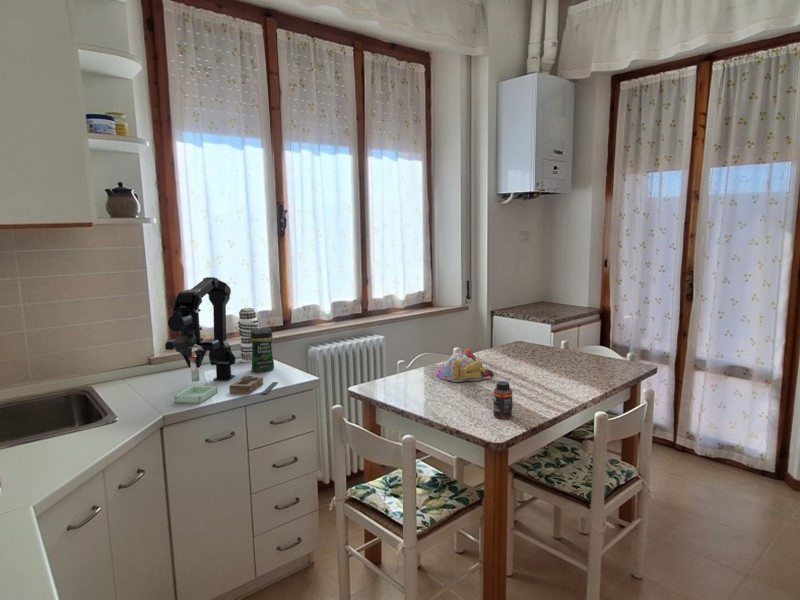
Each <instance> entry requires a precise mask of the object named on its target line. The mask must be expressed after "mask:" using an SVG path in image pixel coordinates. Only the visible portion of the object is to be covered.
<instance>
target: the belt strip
mask: <svg viewBox="0 0 800 600" xmlns="http://www.w3.org/2000/svg"><path fill="white" fill-rule="evenodd" d="M278 383H279V382H278V381H273V382H271V384H269V385H268V386H267V387H266V388H265V389H264V390H263V391H262V392H261V393H260V394H261V395H267V394H269V393H270V392H271V391H272V390H273V388H275V387H276V386H277V385H278Z"/></svg>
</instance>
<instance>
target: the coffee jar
mask: <svg viewBox="0 0 800 600" xmlns="http://www.w3.org/2000/svg"><path fill="white" fill-rule="evenodd" d="M273 338H274V337H273V331H272V329H271V328H270V327H267V328H258V329H253V330H251V335H250V340H251V342H252V362H251V370H252V372H256V373H257V372H258V373H260V372H268V371H272V370H273V369H274V368H275V360H274V356H273V348H272V347H273V345H272V341H273Z"/></svg>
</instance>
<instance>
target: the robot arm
mask: <svg viewBox="0 0 800 600" xmlns="http://www.w3.org/2000/svg"><path fill="white" fill-rule="evenodd" d="M231 290H232V289H231V287H230V286H229V285H228V284H227V283H226V282H224V281H222V280H220V279H218V277H215V276H210V277H209V276H208V277H204V278H203V279H202V280H201V281H200V282H199V283H197V284H196V285H194V286H193V287H192V288H190V289H186V290H182V291H179V293H178V294H177V295H176V299H175V302H174V306H173V308H172V315H171V316H170V317H169V318H168V321H167V324H168V325H167V326H168V327H169V329H170V330H171V331H172V332H180V333H179V334H180V335H179V336H177V337H176V338H173V339H170V340H168V341H166V342H165V344H164V350H168V351H169V350H171V351H173V350H174V349H175V352H177V353H180V355H182V357H183V358H184V360H185V362H186V364H187V367H188V368H190V369H191V366H190V360H189V359H188V357H189V356H193V348H197V349H196V350H194V353H195V355H196V358H197V367H198V369H199V368H201V365H202V364H203V360H204V357H205V355H206V353H207V352H208V351H209V352H208V359H209V362H210V366H215V373H216V377H214V378H213V379H212V380H213V381H229V380H231V379H232V378H234V377H236V376H235V374H232V367H231V366H233V365H235V364H236V356H235V355H234V354H233V352H232V349H231V344H229V342H228V340H227V310H226V309H227V304H228V303H229V301H230V299H231V294H232V293H231V292H232V291H231ZM206 295H208V300H209V302H210V303H211V304H212V307H213V309H212V310H213V339H207V340H204V339H203V337H201V331H202V330H203V327H201V326H200V315H199V313H200V312H201V311H202V309H200V305H202V303H203V298H204V297H205V296H206ZM203 340H204V341H203Z"/></svg>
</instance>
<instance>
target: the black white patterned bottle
mask: <svg viewBox="0 0 800 600" xmlns="http://www.w3.org/2000/svg"><path fill="white" fill-rule="evenodd" d="M238 314H239V315H238V317H239V318H238V322H237V324H238V328H239V329H238V332H239V333H238V334H239V338H240V359H241V362H242V363H252V342H251V340H250V335H251V330H253V329H259V328H258V327H259V325H258V324H257V323H259V321H258V320H257V310H255V308H253V307H243V308H241V309H240V310H239V312H238Z"/></svg>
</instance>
